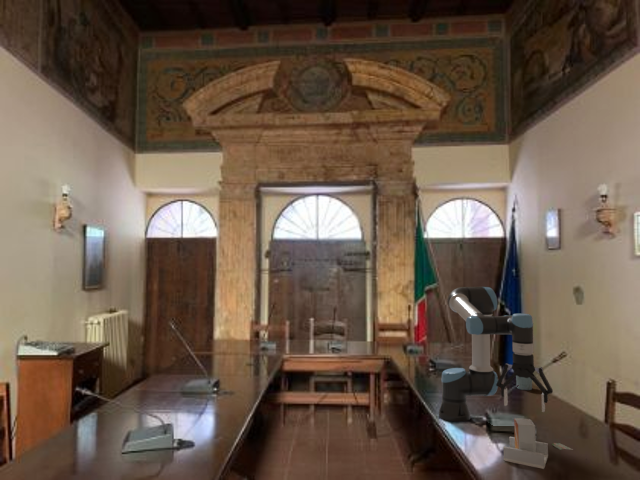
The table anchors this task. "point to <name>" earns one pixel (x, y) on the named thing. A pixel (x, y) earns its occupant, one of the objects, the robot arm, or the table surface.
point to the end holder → (527, 454)
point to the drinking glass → (524, 383)
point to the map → (561, 446)
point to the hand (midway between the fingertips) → (524, 408)
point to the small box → (524, 434)
